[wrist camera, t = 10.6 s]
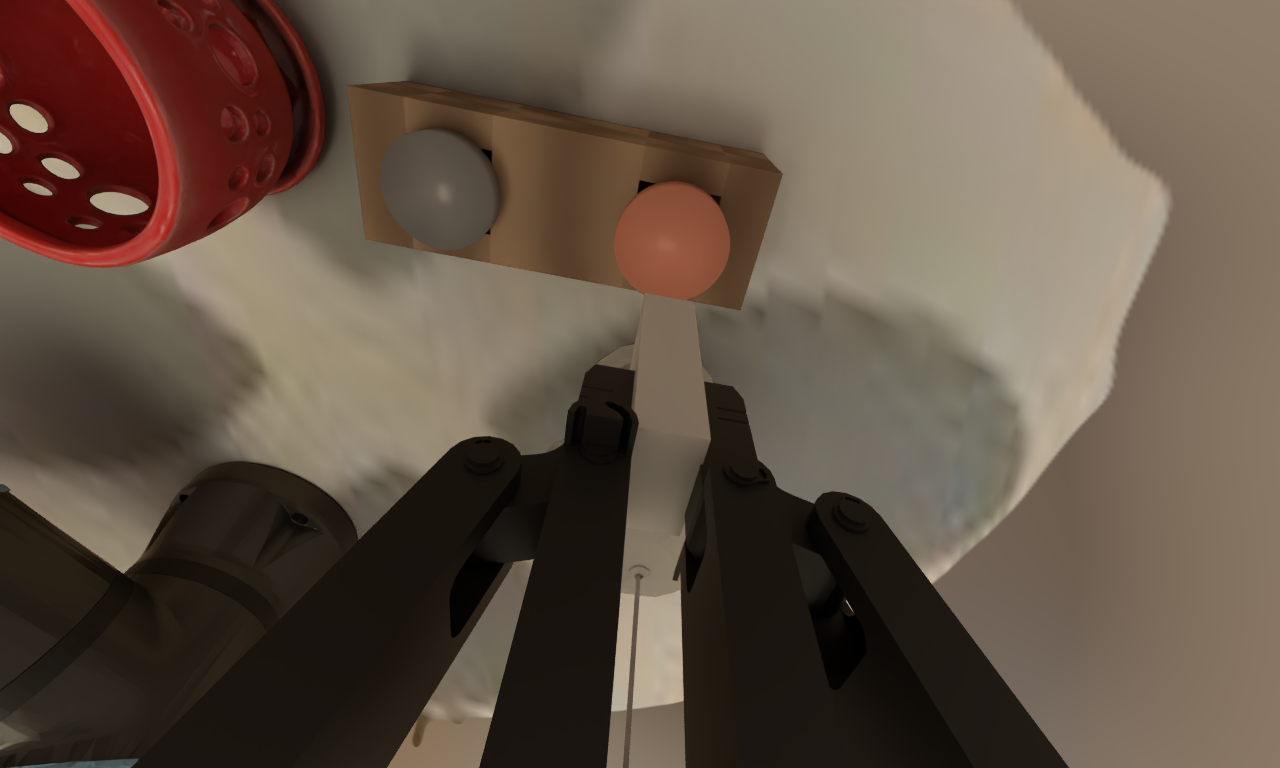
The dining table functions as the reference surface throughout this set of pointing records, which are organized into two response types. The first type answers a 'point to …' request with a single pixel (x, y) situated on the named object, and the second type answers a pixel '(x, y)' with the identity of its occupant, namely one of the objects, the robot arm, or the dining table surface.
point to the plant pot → (150, 120)
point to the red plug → (672, 241)
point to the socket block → (562, 182)
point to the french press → (644, 555)
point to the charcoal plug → (440, 188)
